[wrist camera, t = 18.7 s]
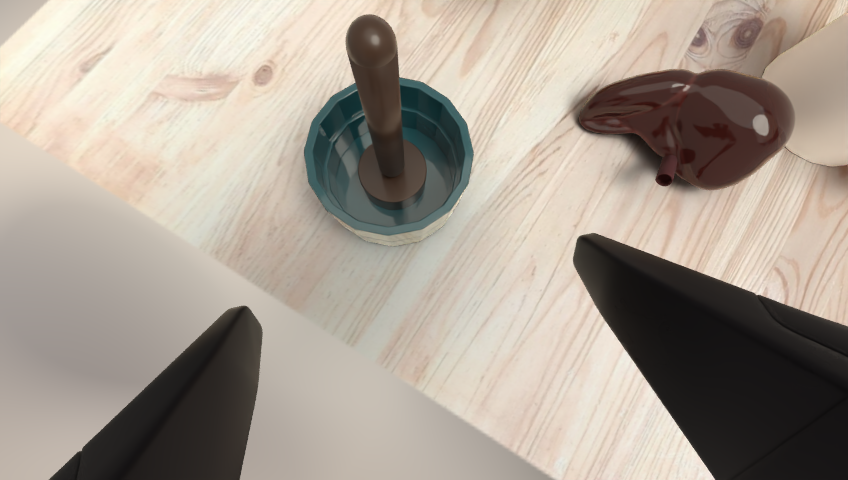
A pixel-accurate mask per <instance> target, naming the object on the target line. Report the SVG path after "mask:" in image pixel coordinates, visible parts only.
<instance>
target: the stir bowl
mask: <svg viewBox="0 0 848 480" xmlns="http://www.w3.org/2000/svg"><path fill="white" fill-rule="evenodd" d="M399 83H400V99H401V114H402V130H403V139H405V140H407V141H409V142H411V143H413V144H414V145H415V146H416V147H417V148H418V149H419V150H420V151H421V153H422V154H423V156H424V158H425V161H426V166H427V174H426V182H425V188H424V191H423V193H422V195H421V196H420V198H419V199H418V200H417V201H416V202H415V203H414V204H412V205H411V206H409V207H407V208H404V209H400V210H388V209H384V208H382V207H379V206H378V205H376V204H375V203H373V202H372V201H371V200H370V199H369V197H368V196H367V194H366V193H365V191H364V189H363V186H362V184H361V182H360V180H359V176H358V165H359V161H360V158H361V156H362V154H363V152H364V151H365V150H366V148H367V147H368V146H370V145H371V144H372V140H371V137H370V133H369V129H368V126H367V122H366V118H365V115H364V111H363V108H362V104H361V100H360V97H359V93H358V90H357V86H356V83H354V84H352V85H351V86H349V87H347V88H345V89H344V90H342V91H340V92H338V93H337V94H335V95H333V96H332V97H331V98H330V99H329V100H328V102H327V103H326V104H325V105H324V107H323V108H322V109H321V110H320V112H319V113H318V114H317V115H316V117H315V118H314V119H313V121H312V123H311V127H310V131H309V134H308V138H307V141H306V145H305V149H304V156H305V163H306V169H307V176H308V182H309V184H310V186H311V187H312V189H313V191H314V192H315V194H316V195H317V197H318V198H319V200H320V201H321V203H322V205H323V206H324V208H325V209H326V210H327V211H328V212H329V213H330V214H331V215H332V216H333V217H334V218H335V219H336V220H338V221H339V222H340V223H341V224H342V225H343V226H344V227H345V228H347V229H348V230H350V231H351V232H353V233H354V234H356V235H357V236H359V237H360V238H362V239H363V240H365V241H367V242H372V243H377V244H382V245H387V246H393V247H395V246H400V245H405V244H410V243H415V242H420V241H422V240H423V239H425V238H426V237H428V236H429V235H431V234H433V233H434V232H436V231H437V230H439V229H440V228H442V227H443V226H444V224H445V223H446V221H447V220H448V218H449V217H450V215H451V214H452V212H453V211H454V209H455V208H456V206H457V205H458V203H459V201H460V199H461V197H462V195H463V193H464V191H465V190H466V188H467V186H468V183H469V178H470V173H471V167H472V161H473V156H474V154H473V153H474V152H473V148H472V144H471V139H470V135H469V131H468V127H467V124H466V122H465V120H464V119H463V118H462V116H461V115H460V114H459V112H458V111H457V110H456V108H455V107H454V105H453V104H452V103H451V101H450V100H449V99H448V98H447V97H445V96H444V95H442V94H440V93H439V92H437V91H436V90H434V89H432V88H431V87H429V86H428V85H426V84H424V83H423V82H420V81H415V80H410V79H405V78H400V77H399Z"/></svg>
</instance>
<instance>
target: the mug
mask: <svg viewBox="0 0 848 480" xmlns="http://www.w3.org/2000/svg"><path fill="white" fill-rule="evenodd" d="M762 79H765V80H767V81H770V82H772V83H773V84H775V85H776V86H778V87H779V88H780V89H782V90H783V91H784V92H785V93H786V95H787V96H788V97H789V99H790V101H791V103H792V105H793V108H794V111H795V126H794V130H793V133H792V135H791V137H790V139H789V141H788V143H787V144H786V145H785V147H786V148H787V149H788V150H790V151H791V152H792V153H794V154H796V155H798V156H800V157H801V158H803V159H805V160H807V161H809V162H812V163H816V164H821V165H826V166H830V167H832V166H843V165H848V12H846V13H845V14H843V15H842V16H840V17H839V18H837V19H835V20H834V21H832V22H831V23H829V24H828V25H826V26H824V27H823V28H821V29H820V30H818V31H817V32H815V33H813V34H812V35H810V36H809V37H807V38H806V39H804V40H802V41H801V42H799V43H798V44H796V45H795V46H793V47H792V48H790V49H788V50H787V51H785V52H784V53H782V54H781V55H779V56H777V57H776V58H775V59H774V60H773V61H772V62H771V63H770V64H769V65H768V66H767V67H766V69H765V71H764V73H763V76H762Z"/></svg>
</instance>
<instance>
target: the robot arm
mask: <svg viewBox="0 0 848 480" xmlns="http://www.w3.org/2000/svg"><path fill="white" fill-rule="evenodd" d="M573 263H574V266H575V268H576V270H577V272H578V274H579V276H580V278H581V279H582V281H583V283H584V285H585V287H586V289H587V290H588V292H589V294H590V296H591V298H592V300H593V301H594V303H595V305H596V307H597V309H598V310H599V312H600V313H601V315H602V317H603V318H604V320H605V321H606V322H607V324H608V325H609V327H610V328H611V330H612V331H613V333H614V334H615V335H616V337H617V338H618V340H619V341H620V343H621V344H622V346H623V347H624V348H625V350H626V351H627V353H628V354H629V356H630V357H631V359H632V360H633V361H634V363H635V364H636V366H637V367H638V369H639V370H640V372H641V373H642V374H643V376H644V377H645V379H646V380H647V382H648V383H649V385H650V386H651V387H652V389H653V390H654V392H655V393H656V395H657V396H658V398H659V399H660V400H661V402H662V403H663V405H664V406H665V408H666V409H667V410H668V412H669V413H670V415H671V416H672V418H673V419H674V421H675V422H676V423H677V425H678V426H679V428H680V429H681V431H682V432H683V434H684V435H685V436H686V438H687V439H688V441H689V442H690V444H691V445H692V447H693V448H694V449H695V451H696V452H697V454H698V455H699V457H700V458H701V460H702V461H703V462H704V464H705V465H706V467H707V468H708V470H709V471H710V473H711V474H712V475H713V477H714V478H715V480H848V326H845V325H842V324H839V323H836V322H833V321H830V320H827V319H824V318H821V317H818V316H815V315H812V314H809V313H807V312H804V311H801V310H798V309H796V308H793V307H790V306H787V305H785V304H782V303H779V302H777V301H774V300H771V299H769V298H766V297H763V296H761V295H756V294H755V293H753V292H750V291H747V290H745V289H742V288H739V287H737V286H734V285H731V284H729V283H726V282H723V281H721V280H718V279H715V278H713V277H710V276H707V275H705V274H702V273H699V272H697V271H694V270H691V269H689V268H686V267H684V266H681V265H678V264H676V263H673V262H670V261H668V260H665V259H662V258H660V257H657V256H654V255H652V254H649V253H646V252H644V251H641V250H638V249H636V248H633V247H630V246H628V245H625V244H622V243H620V242H617V241H614V240H612V239H609V238H606V237H604V236H601V235H598V234H596V233H591V234H586V235H581V236H579V237H578V239H577V242H576V247H575V252H574V256H573ZM261 345H262V327H261V325H260V323H259V322H258V320H257V319H256V317H255V316H254V314H253V313H252V311H251V310H250V309H249V308H248V307H247V306H239V307H235V308H231V309H228V310H227V311H226V312H225V313H224V314H223V315H222V316H220V317H219V318H218V319H217V320H216V321H215V322H214V323H213V324H212V325H211V326H210V327H209V328H208V329H207V330H206V331H205V332H204V333H203V334H202V335H201V336H199V337H198V339H196V340H195V341H194V342H193V343H192V344H191V345H190V346H189V347H188V348H187V349H186V350H185V351H184V352H183V353H182V354H181V355H180V356H179V357H177V358H176V359H175V361H173V362H172V363H171V364H170V365H169V366H168V367H167V368H166V369H165V370H164V371H163V372H162V373H161V374H160V375H159V376H158V377H157V378H155V380H153V381H152V382H151V383H150V384H149V385H148V386H147V387H146V388H145V389H144V390H143V391H142V392H141V393H140V394H139V395H138V396H137V397H135V399H133V401H131V402H130V403H129V404H128V405H127V406H126V407H125V408H124V409H123V410H122V411H121V412H120V413H119V414H118V415H117V416H115V418H113V419H112V420H111V421H110V422H109V423H108V424H107V425H106V426H105V427H104V428H103V429H102V430H101V431H100V432H99V433H98V434H97V435H95V436H94V437H93V438H92V439H91V440H90V441H89V442H88V443H87V444H86V445H85V446H84V447H83V449H82V451H79V452H78V453H76V454H75V455H74V456H73V457H72V458H71V459H70V460H69V461H68V462H67V463H66V464H65V465H64V466H63V467H62V468H61V469H60V470H59V471H58V472H57V473H55V474H54V475H53V476H52V477H51V478H50V479H49V480H240V475H241V470H242V465H243V459H244V455H245V450H246V445H247V440H248V435H249V430H250V425H251V420H252V415H253V410H254V405H255V400H256V395H257V388H258V380H259V368H260V357H261Z"/></svg>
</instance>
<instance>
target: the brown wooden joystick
mask: <svg viewBox="0 0 848 480" xmlns="http://www.w3.org/2000/svg"><path fill="white" fill-rule="evenodd" d="M346 49H347V53H348V57H349V61H350V64H351V68H352V71H353V75H354V79H355V82H356V86H357V90H358V93H359V97H360V100H361V104H362V108H363V111H364V115H365V118H366V122H367V126H368V129H369V133H370V137H371V140H372V144H371V145H370V146H368V147H367V148H366V150H365V151H364V152H363V154H362V156H361V158H360V161H359V165H358V176H359V180H360V182H361V184H362V186H363V189H364V191H365V193H366V194H367V196H368V197H369V199H370V200H371V201H372V202H373V203H375V204H376V205H378V206H379V207H382V208H384V209H388V210H400V209H404V208H407V207H409V206H411V205H412V204H414V203H415V202H416V201H417V200H418V199H419V198H420V196H421V195H422V193H423V191H424V188H425V182H426V174H427V166H426V161H425V158H424V156H423V154H422V153H421V151H420V150H419V149H418V148H417V147H416V146H415V145H414V144H413V143H411V142H409V141H407V140H405V139H403V130H402V114H401V99H400V83H399V67H398V52H397V41H396V37H395V34H394V32H393V30H392V28H391V27H390V25H389V24H388V23H387V22H386V21H385V20H384V19H382V18H380V17H378V16H376V15H363V16H360V17H358V18H357V19H356V20H354V21H353V22H352V24H351V25H350V27H349V29H348V31H347V35H346Z"/></svg>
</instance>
